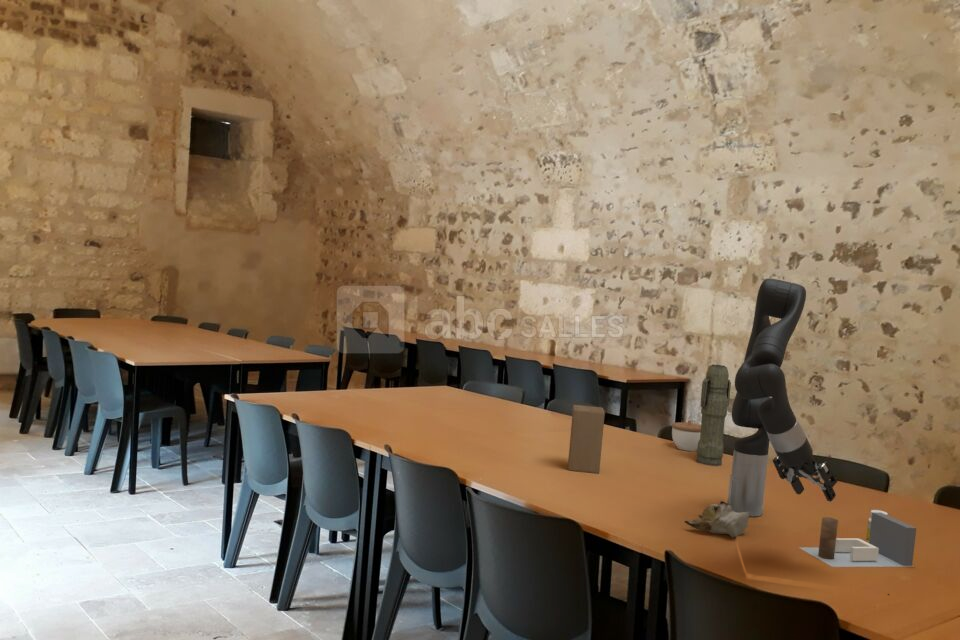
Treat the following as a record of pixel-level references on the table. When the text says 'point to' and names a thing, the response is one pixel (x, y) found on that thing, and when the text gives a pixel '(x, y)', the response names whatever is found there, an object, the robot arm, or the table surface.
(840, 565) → the board with wall
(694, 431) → the lidded bowl
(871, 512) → the supplement bottle
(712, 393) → the olive green tall piece
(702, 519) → the ceramic sculpture
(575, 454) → the wooden block
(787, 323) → the robot arm
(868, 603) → the table surface
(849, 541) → the cradle
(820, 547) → the dowel
